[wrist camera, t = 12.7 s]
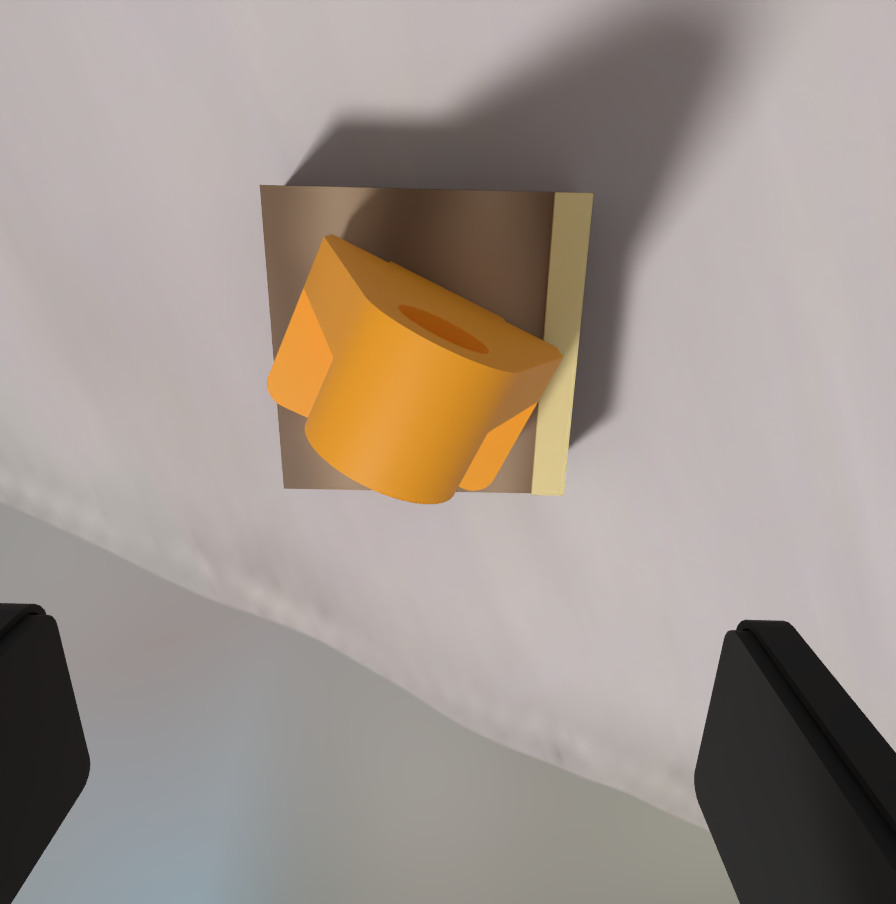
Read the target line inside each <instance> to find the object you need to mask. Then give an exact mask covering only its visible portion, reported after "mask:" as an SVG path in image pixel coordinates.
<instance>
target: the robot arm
mask: <svg viewBox="0 0 896 904" xmlns="http://www.w3.org/2000/svg"><path fill="white" fill-rule="evenodd" d="M89 771H90V757H89V753H88V749H87V745H86V741H85V737H84V733H83V729H82V725H81V720H80V717H79V712H78V708H77V704H76V700H75V696H74V692H73V688H72V683H71V680H70V675H69V671H68V667H67V663H66V659H65V655H64V651H63V647H62V642H61V638H60V634H59V630H58V626H57V623H56V620H55V619H54V618H53V617H52V616H50V615H46V612H45V610H44V609H43V608H42V607H41V606H40V605H36V604H13V603H0V904H11V903H12V901H13V899H14V898H15V896H16V895H17V893H18V892H19V890H20V888H21V887H22V885H23V884H24V882H25V881H26V879H27V877H28V876H29V874H30V873H31V871H32V869H33V868H34V866H35V865H36V863H37V861H38V860H39V858H40V857H41V855H42V854H43V852H44V850H45V849H46V847H47V846H48V844H49V843H50V841H51V839H52V838H53V836H54V835H55V833H56V831H57V830H58V828H59V827H60V825H61V823H62V822H63V820H64V819H65V817H66V816H67V814H68V812H69V811H70V809H71V808H72V806H73V805H74V803H75V801H76V800H77V798H78V797H79V795H80V793H81V792H82V790H83V788H84V786H85V785H86V782H87V779H88V776H89ZM694 784H695V792H696V796H697V800H698V803H699V805H700V808H701V810H702V813H703V815H704V817H705V820H706V822H707V825H708V827H709V829H710V832H711V834H712V837H713V839H714V842H715V844H716V846H717V849H718V851H719V854H720V856H721V859H722V861H723V863H724V866H725V868H726V871H727V873H728V876H729V878H730V880H731V883H732V885H733V888H734V890H735V892H736V895H737V897H738V900H739V902H740V904H896V753H895V751H894V750H893V749H892V748H891V747H890V745H889V744H888V743H887V742H886V740H885V739H884V738H883V737H882V735H881V734H880V733H879V732H878V731H877V729H876V728H875V727H874V726H873V724H872V723H871V722H870V721H869V719H868V718H867V717H866V716H865V714H864V713H863V712H862V711H861V710H860V708H859V707H858V706H857V705H856V703H855V702H854V701H853V700H852V698H851V697H850V696H849V695H848V694H847V692H846V691H845V690H844V689H843V687H842V686H841V685H840V684H839V682H838V681H837V680H836V679H835V677H834V676H833V675H832V674H831V673H830V671H829V670H828V669H827V668H826V666H825V665H824V664H823V663H822V661H821V660H820V659H819V658H818V657H817V655H816V654H815V653H814V652H813V650H812V649H811V648H810V647H809V645H808V644H807V643H806V642H805V640H804V639H803V638H802V637H801V636H800V634H799V633H798V632H797V631H796V629H795V628H794V627H793V626H792V625H791V624H790V623H789V622H786V621H770V620H744V621H741V622H740V623H739V625H738V626H737V629H736V630H731V631H728V632H727V633H726V635H725V638H724V641H723V646H722V651H721V655H720V660H719V664H718V669H717V673H716V678H715V682H714V687H713V691H712V696H711V700H710V705H709V710H708V714H707V719H706V723H705V728H704V732H703V737H702V741H701V746H700V750H699V755H698V760H697V764H696V769H695V775H694Z"/></svg>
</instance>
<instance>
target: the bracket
mask: <svg viewBox="0 0 896 904" xmlns="http://www.w3.org/2000/svg"><path fill="white" fill-rule="evenodd" d="M562 359H563V355H562V354H561V353H560V351H559V350H558V348H557V347H555V346H553V345H551V344H549V343H547V342H545V341H543V340H541V339H539V338H537V337H535V336H533V335H531V334H529V333H527V332H525V331H523V330H521V329H519V328H517V327H515V326H513V325H511V324H509V323H507V322H505V319H504V318H502V317H500V316H499V315H497V314H495V313H493V312H491V311H489V310H487V309H485V308H483V307H481V306H479V305H477V304H475V303H473V302H471V301H469V300H467V299H465V298H463V297H461V296H459V295H457V294H455V293H453V292H451V291H449V290H447V289H445V288H443V287H441V286H439V285H437V284H435V283H433V282H431V281H429V280H427V279H425V278H423V277H421V276H419V275H417V274H415V273H413V272H411V271H409V270H407V269H405V268H403V267H402V266H400V265H398V264H396V263H394V262H392V261H390V262H389V263H388V262H386V261H384V260H382V259H381V258H379V257H377V256H375V255H373V254H371V253H369V252H367V251H365V250H363V249H361V248H359V247H357V246H355V245H353V244H351V243H349V242H347V241H345V240H343V239H341V238H339V237H337V236H335V235H333V234H332V235H328V236H324V237H323V240H322V242H321V245H320V247H319V250H318V252H317V255H316V258H315V260H314V263H313V265H312V268H311V270H310V273H309V275H308V278H307V280H306V283H305V285H304V288H303V290H302V293H301V295H300V298H299V300H298V303H297V305H296V308H295V311H294V313H293V316H292V318H291V321H290V323H289V326H288V328H287V331H286V333H285V336H284V338H283V341H282V343H281V346H280V348H279V351H278V353H277V356H276V358H275V361H274V364H273V366H272V369H271V371H270V374H269V376H268V381H267V386H268V391H269V393H270V395H271V397H272V398H273V399H274V401H275V402H276V403H278V404H279V405H281V406H283V407H285V408H287V409H289V410H291V411H294V412H296V413H298V414H300V415H302V416H305V417H307V418H308V419H307V421H306V424H305V434H306V437H307V439H308V441H309V443H310V444H311V446H312V447H313V448H314V450H315V451H316V452H317V453H318V454H319V455H320V456H321V457H322V458H323V459H324V460H325V461H327V462H328V463H329V464H330V465H331V466H333V467H334V468H335V469H337V470H338V471H340V472H341V473H343V474H344V475H346V476H347V477H349V478H351V479H352V480H354V481H356V482H358V483H360V484H361V485H363V486H365V487H368V488H370V489H372V490H374V491H377V492H379V493H381V494H384V495H387V496H390V497H393V498H396V499H399V500H403V501H408V502H413V503H420V504H438V503H443V502H446V501H448V500H449V499H451V498H452V497H453V495H454V494H455V492H456V490H457V488H458V486H459V487H461V488H463V489H466V490H470V491H477V490H481V489H484V488H486V487H487V486H489V485H490V484H491V483H492V482H493V480H494V478H495V477H496V475H497V473H498V471H499V470H500V468H501V466H502V464H503V463H504V461H505V459H506V457H507V456H508V454H509V452H510V450H511V449H512V447H513V445H514V443H515V442H516V440H517V438H518V436H519V434H520V433H521V431H522V429H523V427H524V426H525V424H526V422H527V420H528V419H529V417H530V415H531V413H532V412H533V410H534V408H535V406H536V405H537V403H538V401H539V399H540V398H541V396H542V394H543V392H544V390H545V389H546V387H547V385H548V383H549V382H550V380H551V378H552V376H553V375H554V373H555V371H556V369H557V368H558V366H559V364H560V362H561V361H562Z"/></svg>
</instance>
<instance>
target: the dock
mask: <svg viewBox="0 0 896 904" xmlns="http://www.w3.org/2000/svg"><path fill="white" fill-rule="evenodd" d="M260 193H261V205H262V218H263V231H264V243H265V256H266V268H267V281H268V293H269V306H270V319H271V331H272V344H273V356H274V361H275V358H276V356H277V353H278V351H279V348H280V346H281V343H282V341H283V338H284V336H285V333H286V331H287V328H288V326H289V323H290V321H291V318H292V316H293V313H294V311H295V308H296V305H297V303H298V300H299V298H300V295H301V293H302V290H303V288H304V285H305V283H306V280H307V278H308V275H309V273H310V270H311V268H312V265H313V263H314V260H315V258H316V255H317V252H318V250H319V247H320V245H321V242H322V240H323V237H324V236H328V235H332V234H333V235H335V236H337V237H339V238H341V239H343V240H345V241H347V242H349V243H351V244H353V245H355V246H357V247H359V248H361V249H363V250H365V251H367V252H369V253H371V254H373V255H375V256H377V257H379V258H381V259H382V260H384V261H386V262H388V263H389V262H390V261H392V262H394V263H396V264H398V265H400V266H402V267H403V268H405V269H407V270H409V271H411V272H413V273H415V274H417V275H419V276H421V277H423V278H425V279H427V280H429V281H431V282H433V283H435V284H437V285H439V286H441V287H443V288H445V289H447V290H449V291H451V292H453V293H455V294H457V295H459V296H461V297H463V298H465V299H467V300H469V301H471V302H473V303H475V304H477V305H479V306H481V307H483V308H485V309H487V310H489V311H491V312H493V313H495V314H497V315H499V316H500V317H502V318H504V319H505V322H507V323H509V324H511V325H513V326H515V327H517V328H519V329H521V330H523V331H525V332H527V333H529V334H531V335H533V336H535V337H537V338H539V339H541V340H543V341H545V342H547V343H549V344H551V345H553V346H555V347H557V348H558V350H559V351H560V353H561V354H562V355H563V359H562V361H561V362H560V364H559V366H558V368H557V369H556V371H555V373H554V375H553V376H552V378H551V380H550V382H549V383H548V385H547V387H546V389H545V390H544V392H543V394H542V396H541V398H540V399H539V401H538V403H537V405H536V406H535V408H534V410H533V412H532V413H531V415H530V417H529V419H528V420H527V422H526V424H525V426H524V427H523V429H522V431H521V433H520V434H519V436H518V438H517V440H516V442H515V443H514V445H513V447H512V449H511V450H510V452H509V454H508V456H507V457H506V459H505V461H504V463H503V464H502V466H501V468H500V470H499V471H498V473H497V475H496V477H495V478H494V480H493V482H492V483H491V484H490V485H489V486H487V487H486V488H484V489H481V490H477V491H470V490H466V489H463V488H461V487H459V486H458V488H457V490H456V492H496V493H531V494H532V495H564V487H565V477H566V467H567V457H568V447H569V437H570V427H571V416H572V406H573V396H574V386H575V376H576V366H577V356H578V346H579V336H580V326H581V315H582V305H583V295H584V285H585V275H586V265H587V255H588V245H589V235H590V225H591V214H592V204H593V194H594V193H567V192H523V191H482V190H441V189H400V188H360V187H319V186H278V185H260ZM277 406H278V419H279V432H280V444H281V457H282V469H283V482H284V488H287V489H339V490H372V489H370V488H368V487H365V486H363V485H361V484H360V483H358V482H356V481H354V480H352V479H351V478H349V477H347V476H346V475H344V474H343V473H341V472H340V471H338V470H337V469H335V468H334V467H333V466H331V465H330V464H329V463H328V462H327V461H325V460H324V459H323V458H322V457H321V456H320V455H319V454H318V453H317V452H316V451H315V450H314V448H313V447H312V446H311V444H310V443H309V441H308V439H307V437H306V434H305V424H306V421H307V419H308V418H307V417H305V416H302V415H300V414H298V413H296V412H294V411H291V410H289V409H287V408H285V407H283V406H281V405H279V404H278V403H277Z"/></svg>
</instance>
